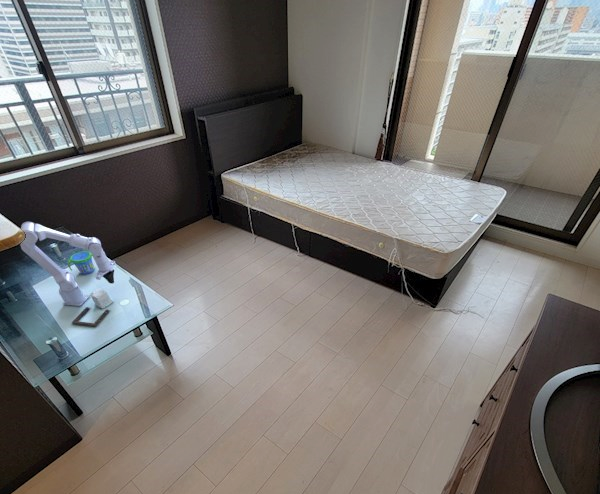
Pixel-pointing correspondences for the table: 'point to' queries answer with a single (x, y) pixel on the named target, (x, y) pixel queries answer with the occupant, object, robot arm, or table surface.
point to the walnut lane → (76, 321)
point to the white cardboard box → (101, 298)
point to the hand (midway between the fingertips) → (111, 282)
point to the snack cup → (82, 262)
